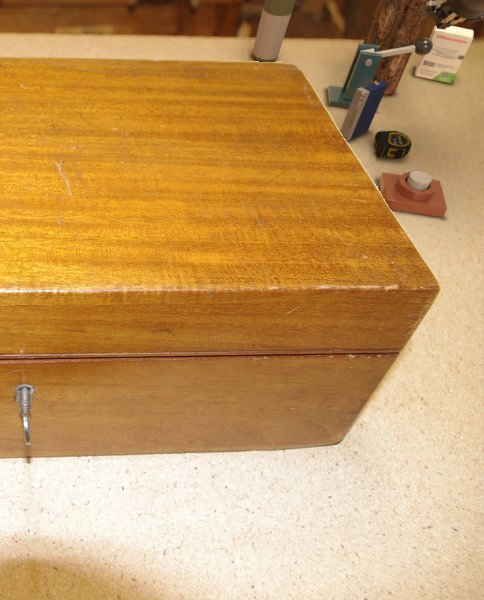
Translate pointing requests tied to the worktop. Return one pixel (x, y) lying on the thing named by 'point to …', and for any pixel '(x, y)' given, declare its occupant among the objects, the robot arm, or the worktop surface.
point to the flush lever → (408, 49)
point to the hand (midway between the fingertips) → (440, 24)
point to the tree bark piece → (395, 36)
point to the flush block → (412, 195)
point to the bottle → (272, 29)
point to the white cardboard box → (445, 53)
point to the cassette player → (363, 109)
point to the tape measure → (392, 144)
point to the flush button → (419, 180)
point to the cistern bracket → (356, 75)
